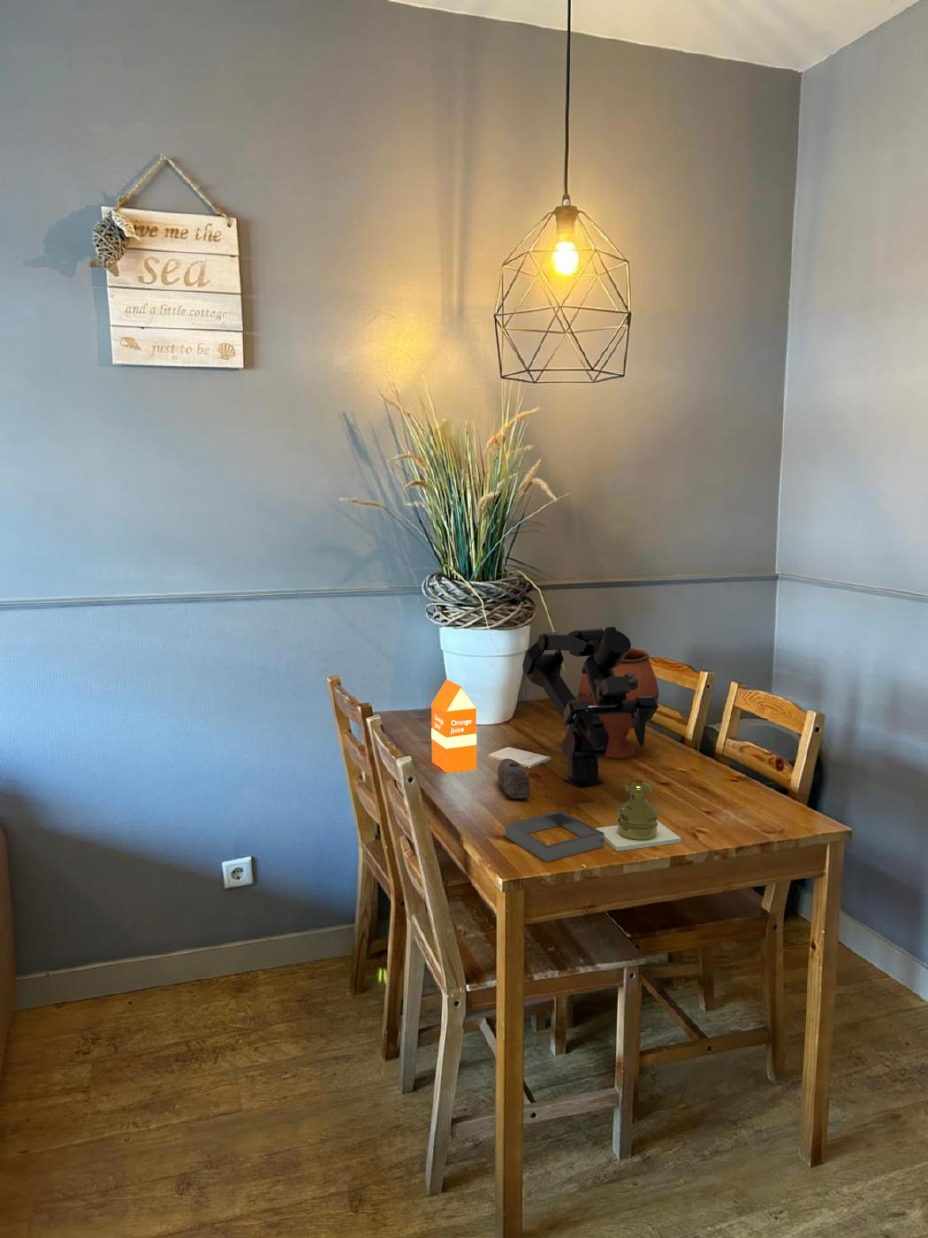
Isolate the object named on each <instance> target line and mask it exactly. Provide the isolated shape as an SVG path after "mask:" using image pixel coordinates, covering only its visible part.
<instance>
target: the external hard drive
mask: <svg viewBox="0 0 928 1238" xmlns="http://www.w3.org/2000/svg"><path fill="white" fill-rule="evenodd" d="M490 758H493V759H492V760H494V759H497V760H496V761H498V760H501V761H502V760H503V759H512V760H515V761H516V762H518V763H519V764H521V765H522V766H524V767H523V768H525V767H528V768H527V769H529V768H531V767H533V766H535V765H538V766H540V765H542V764H541V763H543V762H545V763H547V762H546V761H548V760H550V759H551V757H550V756H547V755H543V754H538V753H534V752H530V751H526V750H522V749H518V748H514V747H510V746H507V747H504V748H501V749H499V750H496V751H494V752H493V751H492V752H491V753H488V759H490ZM501 761H500V762H501ZM550 761H551V760H550ZM548 762H549V761H548ZM539 764H540V765H539ZM543 764H544V763H543ZM531 769H532V768H531Z"/></svg>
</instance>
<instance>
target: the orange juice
mask: <svg viewBox="0 0 928 1238" xmlns="http://www.w3.org/2000/svg"><path fill="white" fill-rule="evenodd" d="M430 704H431V730H430V731H431V763H432V762H433V763H435V765H437V766H439V767H440V768H441V769H442V770H443V771H444V772H446V773H447V772H457V773H461V772H460V771H464V772H467V771H466V770H470V771H473V770H472V769H476V770H477V707H476V706H475V705H474V703H473V702H472V700H471V699H470V698H469V696H468V694H467V693H466V692H465V690H464V688H462V686H461V685H459V684H457V683H455V682H453V681H452V680H449V679H447V678H446V679H445V681H444V682H443V684H442V686H441V688H440V689H439V691H438V692H437V694H436V696H435V697H434V699H433V700H432V702H431V703H430ZM433 763H432V764H433ZM435 765H434V766H435ZM437 766H436V767H437ZM442 770H441V771H442ZM443 771H442V772H443ZM458 771H459V772H458ZM444 772H443V773H444ZM446 773H445V774H446Z"/></svg>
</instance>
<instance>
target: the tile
mask: <svg viewBox="0 0 928 1238" xmlns="http://www.w3.org/2000/svg"><path fill="white" fill-rule="evenodd" d="M656 821H657V823H658V825H657V835H656V836H655V837H653V838H651V839H647V840H634V839H629V838H626V837H624V836H622V835H620V834H619V833H618V831H617V828H618V824H617V825H609V826H603V827H596V828H595V827H594V828H595V829H597V830H599V831H601V832H603V833H605V834H604V842H606V843H607V844H608V845H609V846H610V847H611V848H613V850H615V851H616V852H621V851H627V850H634V849H642V848H643V849H644V848H651V847H656V846H657V847H658V846H666V845H672V844H679V843H681V842H682V838H681V837H680V836H679V835H677V834H676V833H674V832H673V831H672V830H670V829H669V828H668V827H667V826H666V825H664V824H663V823H661V822H660V821H659V820H656ZM681 844H682V843H681Z"/></svg>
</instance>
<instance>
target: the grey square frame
mask: <svg viewBox="0 0 928 1238" xmlns="http://www.w3.org/2000/svg"><path fill="white" fill-rule="evenodd" d="M504 825H505V826H504V837H505V838H506V839H508V840H509V841H511V842H513V843H514V844H516V845H518V846H520V847H521V848H522V849H524V850H526V851H527V852H529V853H531V854H532V855H534V856H535V857H537V858H539V859H540V860H541V861H544V862H545V863H548V862H552V861H556V860H560V859H563V858H567V857H571V856H575V855H579V854H581V853H585V852H589V851H593V850H596V849H601V848H604V847H605V840H604V834H605V833H603V832H601V831H599V830H597V829H595V827H593V826H591V825H589V824H587V823H586V822H584V821H582V820H579V819H578V818H576V817H574V816H572V815H570V814H568V813H566V812H565V811H563V810H558V811H554V812H550V813H546V814H541V815H537V816H532V817H530V818H525V819H524V818H523V819H521V820H516V821H512V822H508V823H504ZM559 826H560V827H561V828H563V829H565V830H567V831H568V832H571V833H572V834H573V835H576V836H578V837H575V838H571V839H567V840H564V841H559V842H555V843H552V844H548V845H547V844H546V843H544V842H542V841H541V840H539V839H537V838H536V837H534V836H532V835H531V834H532V833H536V832H540V831H544V830H548V829H551V828H555V827H559Z"/></svg>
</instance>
